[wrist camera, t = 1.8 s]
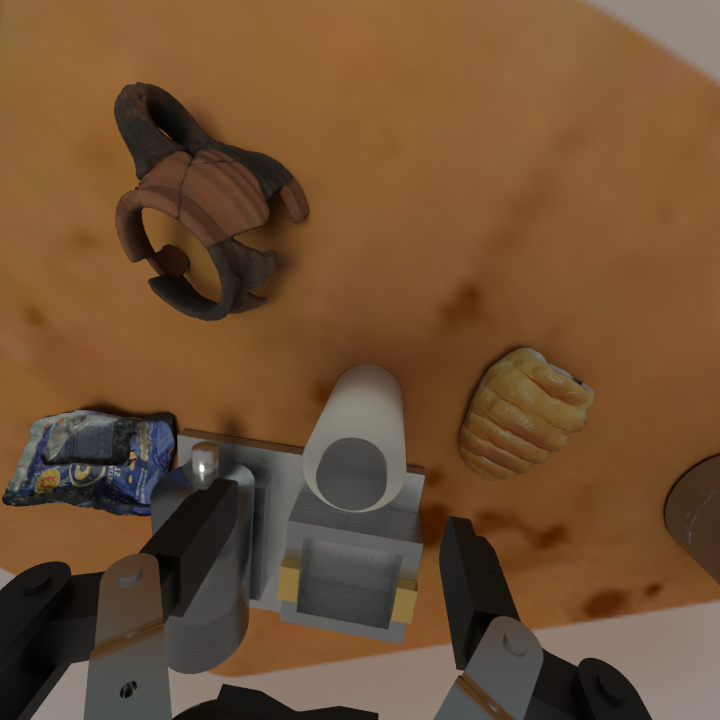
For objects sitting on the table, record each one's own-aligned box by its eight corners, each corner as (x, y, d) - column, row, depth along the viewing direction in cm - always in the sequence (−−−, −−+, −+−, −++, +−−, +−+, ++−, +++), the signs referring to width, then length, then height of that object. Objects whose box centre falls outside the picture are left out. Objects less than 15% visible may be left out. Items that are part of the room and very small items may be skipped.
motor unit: (431, 450, 25) (446, 523, 18) (395, 624, 30) (396, 733, 23) (184, 411, 27) (108, 465, 19) (188, 584, 31) (129, 677, 24)
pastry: (509, 482, 26) (528, 518, 22) (432, 440, 26) (437, 469, 22) (591, 381, 23) (627, 403, 19) (506, 333, 23) (526, 346, 19)
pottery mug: (346, 246, 23) (279, 311, 17) (258, 288, 28) (186, 347, 23) (229, 34, 17) (77, 26, 12) (150, 136, 23) (21, 164, 17)
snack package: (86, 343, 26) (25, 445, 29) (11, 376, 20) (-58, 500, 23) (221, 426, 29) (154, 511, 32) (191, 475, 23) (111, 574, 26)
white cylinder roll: (407, 369, 24) (416, 439, 14) (396, 433, 25) (397, 535, 16) (337, 359, 24) (300, 421, 15) (330, 422, 26) (292, 517, 16)
